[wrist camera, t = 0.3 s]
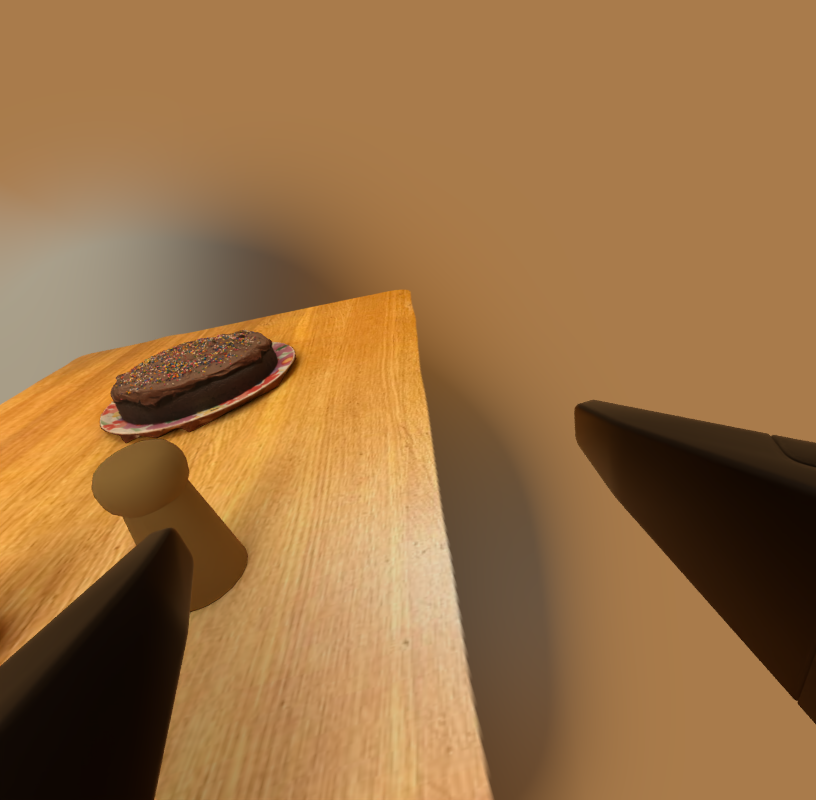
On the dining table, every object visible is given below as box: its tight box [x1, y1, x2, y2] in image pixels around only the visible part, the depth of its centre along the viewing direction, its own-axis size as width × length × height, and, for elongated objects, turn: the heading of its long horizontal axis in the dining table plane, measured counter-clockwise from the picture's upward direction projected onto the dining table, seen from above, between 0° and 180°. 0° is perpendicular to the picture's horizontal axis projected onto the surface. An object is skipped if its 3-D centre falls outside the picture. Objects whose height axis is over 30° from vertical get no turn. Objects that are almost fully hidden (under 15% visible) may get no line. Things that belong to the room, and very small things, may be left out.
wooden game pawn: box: [92, 439, 248, 611], centre depth 28 cm, size 6×6×11 cm
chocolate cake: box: [100, 330, 296, 443], centre depth 62 cm, size 28×28×7 cm
